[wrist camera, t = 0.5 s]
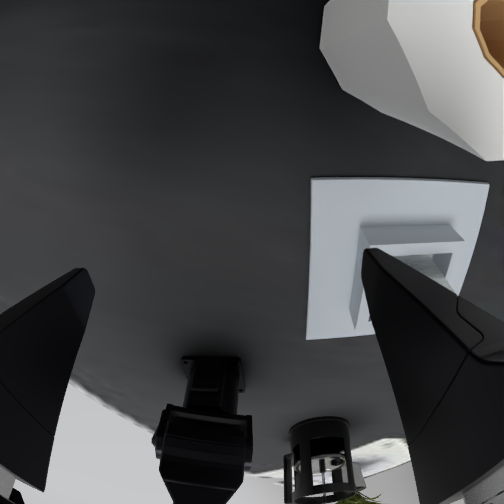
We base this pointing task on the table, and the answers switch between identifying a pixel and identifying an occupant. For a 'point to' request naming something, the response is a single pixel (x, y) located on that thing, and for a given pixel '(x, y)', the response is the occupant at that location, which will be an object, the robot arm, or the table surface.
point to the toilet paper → (424, 64)
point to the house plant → (357, 501)
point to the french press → (319, 461)
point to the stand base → (383, 239)
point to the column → (425, 267)
